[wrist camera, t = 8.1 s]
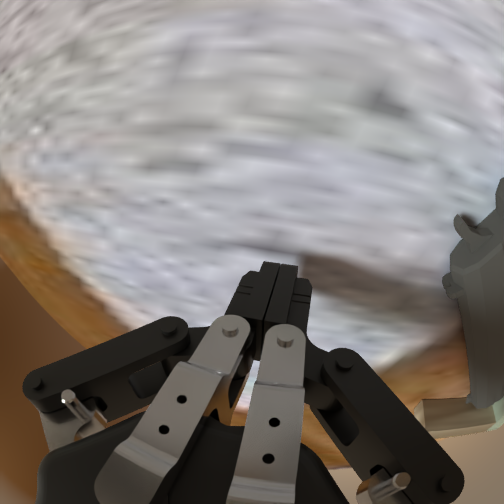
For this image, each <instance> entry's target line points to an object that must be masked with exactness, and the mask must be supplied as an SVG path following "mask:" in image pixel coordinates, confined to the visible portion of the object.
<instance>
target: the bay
mask: <svg viewBox="0 0 504 504" xmlns="http://www.w3.org/2000/svg"><path fill="white" fill-rule="evenodd" d="M466 399H467V398H455V399H430V400H422V401H421V402H420V403H419V404H418V405H417V406H416V408H415V409H414V416H415V418H416V419H417V420H418V421H419V422H420V423H421V424H422V426H423V427H424V428H425V429H426V430H427V431H428V432H429V434H430V435H431V436H432V437H433V438H434V439H437V438H447V437H455V436H462V435H469V434H474V433H480V432H485V431H490V430H495V429H498V428H499V427H500V426H501V425H502V424H504V396H503V398H502V399H501V400H499V401H497V402H495V403H494V404H493V405H491V406H489V407H487V408H480V409H476V407H475V406H474V405H473V404H472V402H470V403H468V404H466Z"/></svg>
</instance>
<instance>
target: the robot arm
mask: <svg viewBox="0 0 504 504" xmlns="http://www.w3.org/2000/svg"><path fill="white" fill-rule="evenodd" d="M297 272H298V266H294V265H287V264H280V263H273V262H266V261H264V262H263V264H262V266H261V269H260V271H259V272H256V271H249V272H248V273H247V274H245V275H244V276H243V277H242V279H241V281H240V283H239V286H238V287H237V289H236V292H235V293H234V296H233V298H232V300H231V302H230V304H229V306H228V308H227V310H226V312H225V315H224V316H221V317H219V318H217V319H216V320H215V321H214V322H213V323H212V324H211V326H208V327H194V328H188V325H187V323H186V322H185V321H184V320H183V319H181V318H179V317H174V316H169V317H164V318H161V319H159V320H157V321H154V322H152V323H149V324H147V325H145V326H142V327H140V328H138V329H135V330H133V331H130V332H128V333H126V334H123V335H121V336H118V337H116V338H114V339H111V340H109V341H106V342H104V343H101V344H99V345H97V346H94V347H92V348H89V349H87V350H84V351H82V352H79V353H77V354H74V355H72V356H69V357H67V358H64V359H61V360H59V361H57V362H54V363H51V364H49V365H46V366H43V367H41V368H38V369H36V370H33V371H32V372H30V373H29V374H28V375H27V376H26V378H25V379H24V382H23V392H24V394H25V396H26V397H27V398H28V399H29V400H30V401H31V403H32V404H33V405H35V407H36V408H37V410H38V411H39V412H40V416H41V420H42V425H43V429H44V432H45V436H46V440H47V444H48V447H49V450H50V452H49V453H48V454H47V455H46V456H45V457H44V458H43V460H42V461H41V463H40V466H39V468H38V474H37V497H36V503H35V504H349V502H348V501H347V499H346V498H345V496H344V495H343V493H342V492H341V490H340V488H339V487H338V485H337V484H336V482H335V481H334V479H333V478H332V476H331V475H330V473H329V471H328V470H327V468H326V467H325V465H324V464H323V462H322V461H321V459H320V458H319V457H318V456H317V455H316V453H314V452H313V451H312V450H311V449H310V448H308V447H307V446H306V445H304V444H302V443H300V442H301V432H302V421H303V409H304V403H306V404H309V405H310V409H311V411H312V412H313V414H314V415H315V417H316V418H317V419H318V421H319V422H320V424H321V425H322V426H323V428H324V429H325V431H326V432H327V434H328V435H329V436H330V438H331V439H332V441H333V442H334V443H335V445H336V446H337V448H338V449H339V450H340V452H341V453H342V454H343V456H344V457H345V459H346V460H347V461H348V463H349V464H350V465H351V467H352V468H353V469H354V471H355V472H356V473H357V475H358V476H359V477H360V479H361V480H362V481H363V482H362V483H361V484H360V486H359V487H358V489H357V493H356V499H357V502H358V504H450V503H452V502H453V501H455V500H456V499H457V498H458V497H459V495H460V494H461V492H462V490H463V487H464V475H463V473H462V471H461V469H460V468H459V467H458V466H457V465H456V463H455V462H454V461H453V460H452V459H451V458H450V456H449V455H448V454H447V453H446V452H445V451H444V450H443V448H442V447H441V446H440V445H439V444H438V443H437V442H436V440H435V439H434V438H433V437H432V436H431V435H430V434H429V432H428V431H427V430H426V429H425V428H424V427H423V426H422V424H421V423H420V422H419V421H418V420H417V419H416V418H415V417H414V415H413V414H412V413H411V412H410V411H409V410H408V409H407V407H406V406H405V405H404V404H403V403H402V402H401V401H400V400H399V398H398V397H397V396H396V395H395V394H394V393H393V392H392V391H391V389H390V388H389V387H388V386H387V385H386V384H385V383H384V382H383V381H382V379H381V378H380V377H379V376H378V375H377V374H376V373H375V372H374V370H373V369H372V368H371V367H370V366H369V365H368V364H367V363H366V362H365V360H364V359H363V358H362V357H361V356H360V355H359V354H358V353H356V352H355V351H353V350H351V349H347V348H337V349H334V350H331V351H330V352H327V351H324V350H322V349H320V348H318V347H316V346H315V345H313V344H312V343H311V341H310V340H309V339H308V336H307V324H308V317H309V309H310V302H311V294H312V286H311V284H310V282H309V280H308V279H303V278H297ZM253 360H257V361H260V365H259V370H258V375H257V380H256V381H255V383H254V387H253V392H252V396H251V401H250V406H249V410H248V415H247V420H246V424H245V426H230V424H231V419H232V415H233V412H234V410H235V407H236V405H237V403H238V401H239V398H240V396H241V394H242V391H243V389H244V387H245V384H246V382H247V380H248V377H249V374H250V369H251V367H252V363H253ZM159 361H160V362H159ZM152 364H153V365H152ZM150 365H151V366H150ZM148 366H149V367H148ZM141 369H142V370H141ZM139 370H140V371H139ZM149 404H150V406H149V408H148V409H147V411H144V412H141V413H139V414H136V415H134V416H132V417H130V418H128V419H126V420H124V421H121V422H119V423H117V424H115V425H113V426H110V427H108V428H106V426H107V423H108V422H110V421H112V420H115V419H117V418H119V417H122V416H124V415H127V414H129V413H131V412H133V411H136V410H138V409H140V408H143V407H145V406H147V405H149ZM105 428H106V429H105Z"/></svg>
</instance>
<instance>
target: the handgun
mask: <svg viewBox="0 0 504 504" xmlns="http://www.w3.org/2000/svg"><path fill="white" fill-rule="evenodd" d="M495 195H496V209H495V210H494V211H493V212H492V213H490V214H489V215H488V216H487V217H486V218H485V219H484V220H483V221H482V222H481V223H480V224H479V225H478V226H476V227H475V228H472V227H470V226H468V225H467V224H466V223H465V222H464V220H463V219H462V218H461V217H460V216H459V215H458V214H457V215H456V216H455V218H454V227H455V230H456V231H457V233H458V234H459V235H460V236H461V238H463V239H462V240H461V241H460V242H459V243H458V244H457V246H456V247H455V249H454V250H453V251H452V253H451V254H450V271H451V272H450V273H448V274H446V275H445V276H444V277H443V278H442V283H443V286H444V289H446V293H447V295H448V297H449V298H450V299H456V298H457V299H458V303H459V308H460V313H461V318H462V324H463V329H464V335H465V342H466V349H467V357H468V366H469V376H470V390H471V394H468V395H467V399H466V404H468V403H470V402H472V404H473V405H474V406H475V407H476V409H480V408H487V407H489V406H491V405H493V404H494V403H495V402H497V401H499V400H501V399H502V398H503V396H504V178H502V179H500V182H499V185H498V188H497V191H496V194H495Z"/></svg>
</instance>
